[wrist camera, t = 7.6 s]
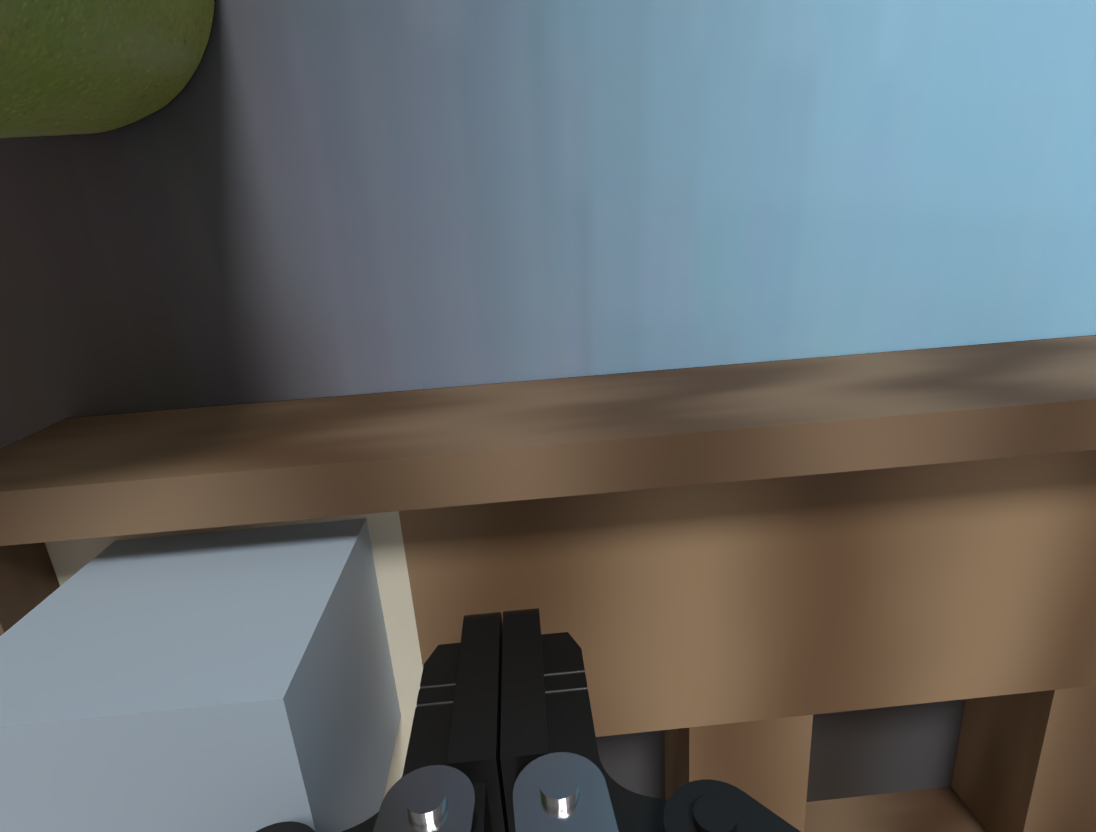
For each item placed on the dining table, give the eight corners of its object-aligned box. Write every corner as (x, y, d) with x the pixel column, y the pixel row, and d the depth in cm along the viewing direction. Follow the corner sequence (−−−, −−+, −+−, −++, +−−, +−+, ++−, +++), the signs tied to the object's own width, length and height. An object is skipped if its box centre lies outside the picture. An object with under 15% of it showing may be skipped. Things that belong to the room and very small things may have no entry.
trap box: (1168, 329, 16) (1412, 371, 12) (1058, 786, 20) (1203, 937, 16) (67, 418, 15) (-112, 500, 11) (214, 878, 19) (132, 1066, 15)
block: (366, 518, 13) (283, 698, 8) (401, 715, 14) (348, 964, 10) (114, 541, 13) (-123, 738, 8) (177, 738, 14) (9, 1004, 9)
